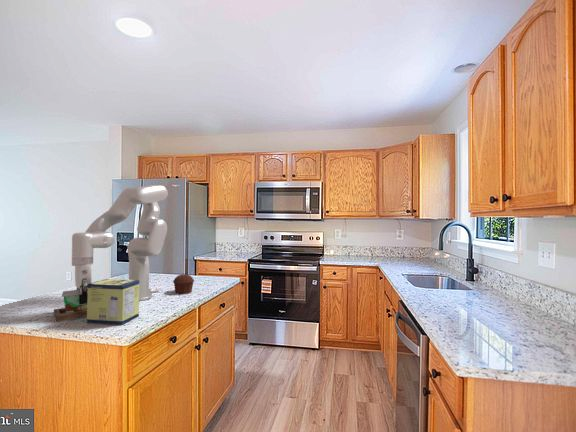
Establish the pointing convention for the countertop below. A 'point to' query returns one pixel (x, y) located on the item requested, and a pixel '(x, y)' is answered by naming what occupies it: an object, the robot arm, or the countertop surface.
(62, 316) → the base plate
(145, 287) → the robot arm
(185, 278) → the muffin
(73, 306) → the food container
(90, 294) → the protein box
